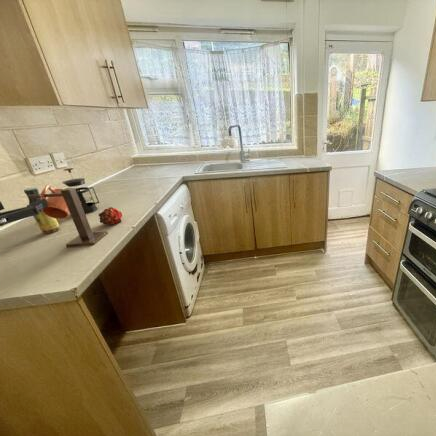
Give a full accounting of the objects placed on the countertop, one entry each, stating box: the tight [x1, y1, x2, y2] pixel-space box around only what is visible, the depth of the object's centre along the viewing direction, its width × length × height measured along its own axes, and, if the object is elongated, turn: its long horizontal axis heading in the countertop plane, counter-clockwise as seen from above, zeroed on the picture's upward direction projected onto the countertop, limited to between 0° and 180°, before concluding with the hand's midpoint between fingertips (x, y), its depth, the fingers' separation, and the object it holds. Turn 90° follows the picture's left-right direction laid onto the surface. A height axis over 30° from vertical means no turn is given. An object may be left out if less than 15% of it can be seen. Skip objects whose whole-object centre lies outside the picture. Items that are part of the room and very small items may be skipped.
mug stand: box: [26, 187, 109, 249], centre depth 95 cm, size 19×10×22 cm, turn 97°
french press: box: [62, 167, 100, 215], centre depth 126 cm, size 12×9×23 cm
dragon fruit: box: [98, 206, 123, 226], centre depth 114 cm, size 8×8×12 cm
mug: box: [39, 184, 71, 220], centre depth 95 cm, size 12×8×9 cm
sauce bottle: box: [23, 187, 61, 234], centre depth 105 cm, size 7×6×20 cm
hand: (23, 203), depth 83 cm, fingers open, 13 cm apart
